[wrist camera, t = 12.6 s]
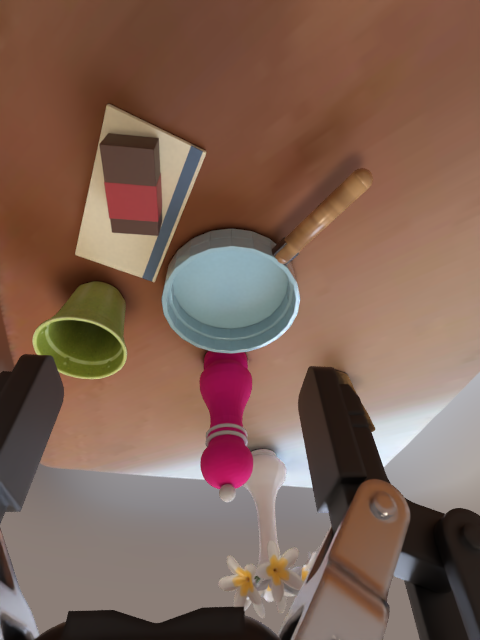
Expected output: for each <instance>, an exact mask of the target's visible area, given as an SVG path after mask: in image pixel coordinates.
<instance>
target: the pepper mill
mask: <svg viewBox="0 0 480 640" xmlns="http://www.w3.org/2000/svg"><path fill="white" fill-rule="evenodd" d="M247 368H248V365H247V356H246V354H245V352H240V353H231V354H230V353H219V352H212V351H208V352H207V353H206V355H205V358H204V371H203V372H202V374H201V377H200V391H201V394H202V397H203V399H204V401H205V403H206V405H207V407H208V409H209V412H210V418H211V425H210V429H209V430H208V431H207V433H206V446H207V448H206V449H205V450H204V452H203V454H202V457H201V471H202V474H203V477H204V478H205V480H206V481H207V482H208V483H209V484H210V485H211V486H213V487H215V488H217V489H220V491H219V496H220V498H221V499H222V500H223V501H225V502H230V501H232V500H233V499H234V498H235V494H236V491H235V488H238V487H240V486H242V485H243V484H245V483H246V482H247V481H248V479H249V478H250V476H251V474H252V471H253V455H252V453H251V451H250V450H249V448H248V447H247V444H248V440H247V431H246V430H245V429H244V428H243V424H242V416H243V411H244V408H245V406H246V403H247V401H248V399H249V397H250V394H251V390H252V377H251V374H250V372H249V371H248V369H247Z"/></svg>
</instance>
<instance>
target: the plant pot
mask: <svg viewBox="0 0 480 640" xmlns="http://www.w3.org/2000/svg"><path fill="white" fill-rule="evenodd" d="M125 307H126V303H125V300H124V299H123V297H122V295H121V294H120V292H119V291H118V290H117V289H116V288H115V287H113V286H111V285H109V284H107V283H103V282H98V281H93V282H90V283H86V284H82V285H80V286H79V287H78V288H77V289H76V290H75V292H74V293H73V294H72V295H71V297H70V298H69V299H68V301H67V302H66V303H65V304H64V305H63V307H62V308H61V309H60V310H59V312H58V313H57V314H56V315H55V316H53V317H52V318H50V319H49V320H47V321H45V322H43V323H42V324H41V325H40V326H39V327H38V328H37V329H36V331H35V333H34V335H33V347H34V349H35V352H36V354H37V355H51V356H52V357H53V358H54V361H55V364H56V367H57V369H58V372H60V373H63V374H65V375H68V376H72V377H76V378H82V379H98V378H104V377H108V376H110V375H112V374H114V373H116V372H118V371H119V370H120V369H121V368H122V367H123V366H124V364H125V362H126V358H127V349H126V345H125V343H124V338H123V332H124V319H125Z"/></svg>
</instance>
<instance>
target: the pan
mask: <svg viewBox="0 0 480 640" xmlns="http://www.w3.org/2000/svg"><path fill="white" fill-rule="evenodd" d="M275 246H276V244H275V243H274V242H273V241H272V240H271V239H269V238H267V237H264V236H262V235H260V234H257V233H255V232H253V231H252V232H251V231H247V230H240V229H223V230H215V231H209V232H207V233H205V234H202V235H200V236H198V237H195V238H193V239H191V240H190V241H189V242H187V243H186V244H185V245H184V246H183V247H181V248H180V249H179V250H178V251H177V252H176V254H175V255H174V257H173V259H172V260H171V262H170V263H169V265H168V270H167V274H166V279H165V284H164V289H163V294H162V306H163V312H164V315H165V317H166V319H167V321H168V323H169V325H170V326H171V328H172V329H173V330H174V331H175V332H176V333H177V334H178V335H179V336H180V337H181V338H182V339H184V340H185V341H187V342H189V343H191V344H193V345H194V346H196V347H198V348H202V349H205V350H208V351H212V352H219V353H230V354H231V353H240V352H249V351H252V350H255V349H258V348H261V347H264V346H266V345H268V344H269V343H271V342H273V341H275V340H276V339H278V338H279V337H280V336H281V335H282V334H283V333H284V332H285V331H286V330H287V329H288V328H290V326H291V324H292V323H293V321H294V319H295V317H296V315H297V313H298V308H299V303H300V295H299V290H298V285H297V280H296V277H295V273H294V269H293V265H292V263H291V262H289V263H288V264H287V265H286V266H285V265H284V264H281V263H279V262H278V261H277V259H276V258H275V257H274V256H273V255H272V250H271V249H272V248H274V247H275Z"/></svg>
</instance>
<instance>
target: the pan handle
mask: <svg viewBox="0 0 480 640" xmlns="http://www.w3.org/2000/svg"><path fill="white" fill-rule="evenodd" d="M372 181H373V177H372V174H371V172H370V171H369V170H367V169H365V168H361V169H357V170H355V171H354V172H353V173H352V174H351V175H350V176H349V177H348V178H347V179H346V180H345V181H344V182H343V183H342V184H341V185H340V186H339V187H338V188H336V189H335V190H334V191H333V192H332V193H331V194H330V195H329V196H328V197H327V198H326V199H325V200H324V201H323V202H322V203H321V204H320V205H319V206H318V207H317V208H316V209H315V210H314V211H313V212H312V213H311V214H310V215H309V216H307V217H306V218H305V219H304V220H303V221H302V222H301V223H300V224H299V225H298V226H297V227H296V228H295V229H294V230H293V231H292V232H291V233H290V234H289V235H288V236H287V237H286V238H285V237H284V238H283V239H282V240H281V241H280V242H279V243H278V244H277V245H276V246H275V247H274V248H272V249H271V250H272V255H273V256H274V257H275V258H276V259H277V261H278V262H279V263H281V264H284V265H285V266H286V265H287V264H288V263H289V262H291V261H292V260H293V259H294V258H295V257H296V256H297V255H298V254H299V252H300V251H301V250H302V249H303V248H304V247H305V246H306V245H307V244H308V243H309V242H311V241H312V240H313V239H314V238H315V237H316V236H317V235H318V234H319V233H320V232H321V231H323V230H324V229H325V228H326V227H327V226H328V225H329V224H330V223H331V222H332V221H333V220H335V219H336V218H337V217H338V216H339V215H340V214H341V213H342V212H343V211H344V210H346V209H347V208H348V207H349V206H350V205H351V204H352V203H353V202H354V201H355V200H356V199H358V198H359V197H360V196H361V195H362V194H363V193H364V192H365V191H366V190H367V189H368V188H369V187H370V186H371V184H372Z"/></svg>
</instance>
